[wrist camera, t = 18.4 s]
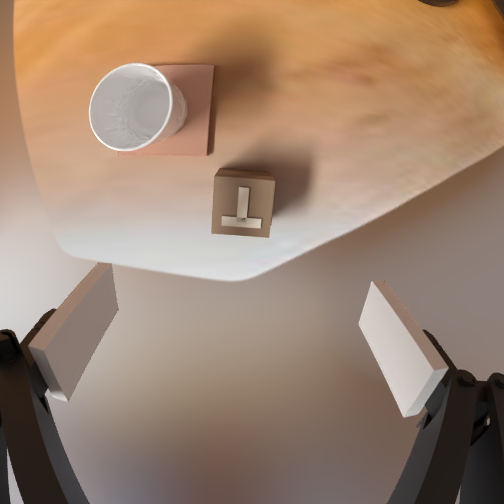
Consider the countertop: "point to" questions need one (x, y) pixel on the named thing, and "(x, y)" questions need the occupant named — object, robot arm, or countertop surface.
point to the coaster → (198, 118)
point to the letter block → (243, 202)
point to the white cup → (136, 107)
